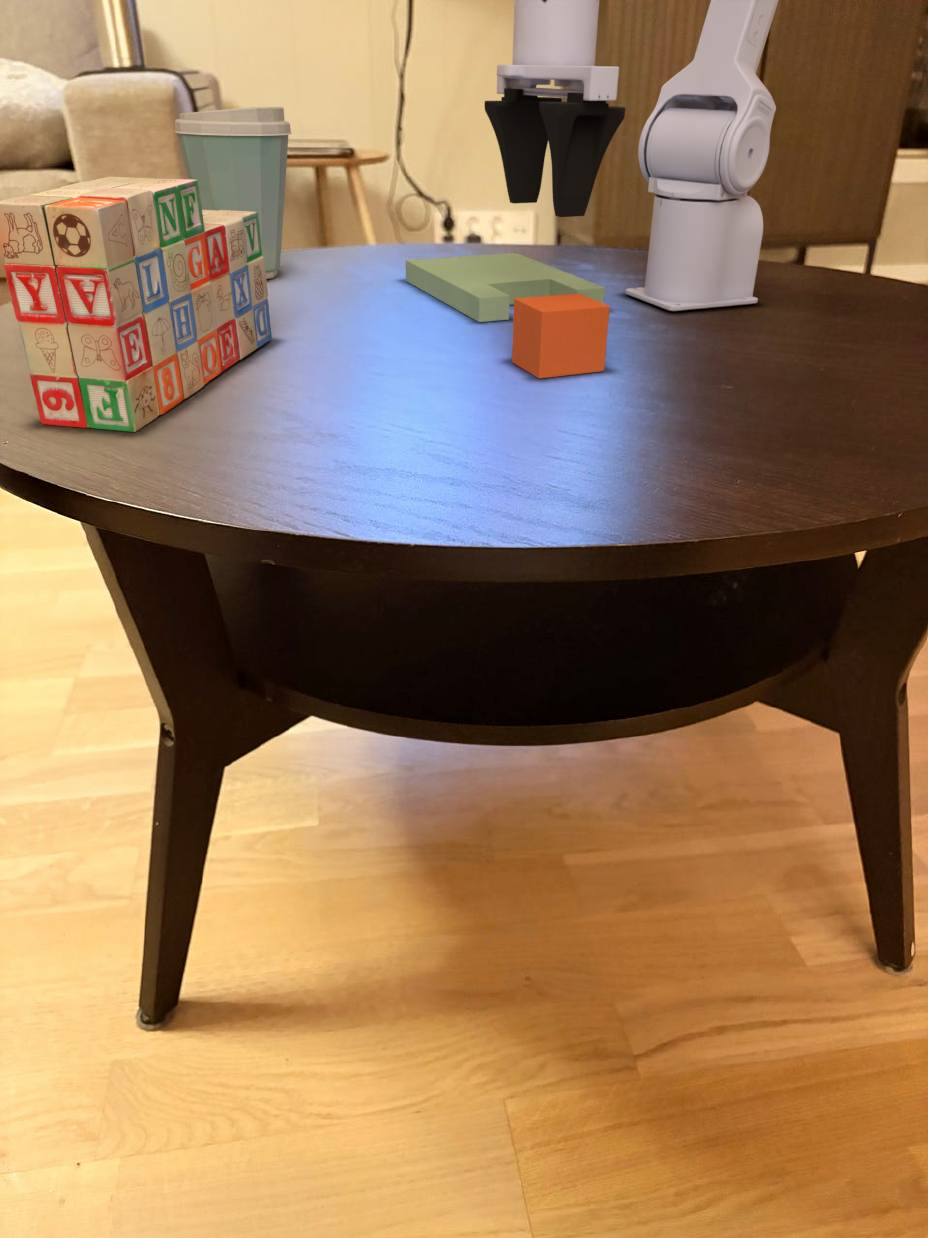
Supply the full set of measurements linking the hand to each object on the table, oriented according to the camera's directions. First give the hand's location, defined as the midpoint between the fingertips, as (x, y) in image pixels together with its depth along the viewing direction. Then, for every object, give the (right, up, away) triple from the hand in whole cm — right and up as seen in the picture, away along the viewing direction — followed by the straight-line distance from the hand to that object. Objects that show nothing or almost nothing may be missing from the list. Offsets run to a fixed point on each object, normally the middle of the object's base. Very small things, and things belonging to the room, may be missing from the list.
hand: (545, 208), depth 69 cm
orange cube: (+1, -12, -3) cm, 13 cm away
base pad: (-3, 0, +18) cm, 18 cm away
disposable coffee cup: (-28, +4, +24) cm, 37 cm away
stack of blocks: (-26, -14, -6) cm, 30 cm away
